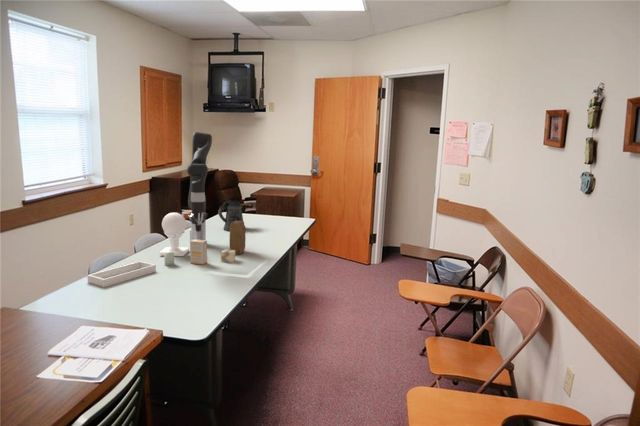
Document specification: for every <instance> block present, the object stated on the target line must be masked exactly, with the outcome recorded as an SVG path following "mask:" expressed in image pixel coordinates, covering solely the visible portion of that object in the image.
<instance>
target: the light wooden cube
mask: <svg viewBox="0 0 640 426" xmlns="http://www.w3.org/2000/svg"><path fill="white" fill-rule="evenodd" d="M234 261H236V254H235V250H230V248H229V249H228V248H226V249H223V250H221V252H220V262H221V263H228V264H229V263H231V264H232V263H233V262H234Z"/></svg>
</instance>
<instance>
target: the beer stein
mask: <svg viewBox="0 0 640 426" xmlns="http://www.w3.org/2000/svg"><path fill="white" fill-rule="evenodd" d="M242 208H243V204H242V203H240V202H239V201H238V200H237V199H236V198H234V199H233V198H231V199H229V200H228V201H225V202H223V203H222V205H220V206H219V208H218V211H217V212H218V213H217V214H218V216H219V218H220V219H221V220H222V222H223V223H224V226H223V231H224V232H229V233H230V227H231V226H230V224H231V223H232V222H233V221H244V217H243V211H242ZM223 210H226V211H225V212H226V213H225V217H224V215H223V213H222V212H223ZM244 227H245V228H246V225H245V224H244Z"/></svg>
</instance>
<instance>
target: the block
mask: <svg viewBox="0 0 640 426" xmlns="http://www.w3.org/2000/svg"><path fill="white" fill-rule="evenodd" d="M244 225H245V221H244V220H243V221H233V222H232V223H231V224H230V226H231V227H230V232H229V250H235V255H242V254H244V253H245V252H244V251H245V249H246V239H247V237H246V226H245V227H244Z"/></svg>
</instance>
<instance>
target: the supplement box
mask: <svg viewBox="0 0 640 426" xmlns="http://www.w3.org/2000/svg"><path fill="white" fill-rule="evenodd" d="M189 253H190V255H189V256H190V264H193V265H202V266H204V265H205V264H208V240H197V239H194V240H191V241H190V240H189Z"/></svg>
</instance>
